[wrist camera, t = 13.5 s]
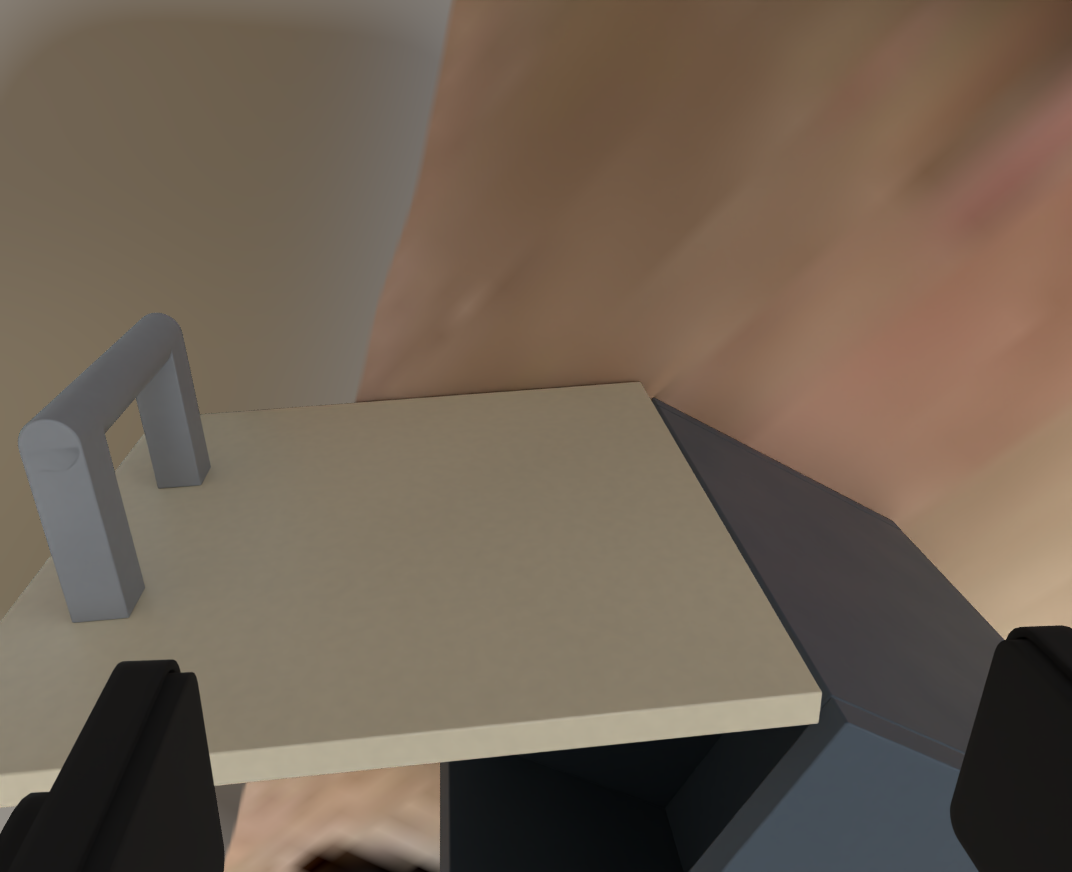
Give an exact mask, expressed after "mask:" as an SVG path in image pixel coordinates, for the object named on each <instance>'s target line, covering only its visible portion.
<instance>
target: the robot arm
mask: <svg viewBox="0 0 1072 872" xmlns="http://www.w3.org/2000/svg"><path fill="white" fill-rule="evenodd" d="M950 819H951V824H952V827H953V830H954V833H955V835H956V837H957V839H958V840H959V842H960V844H961V845H962V847H963V848H964V850H965V851H966V853H967V854H968V856H969V857H970V859H971V861H972V862H973V864H974V865H975V867H976V868H977V870H978V871H979V872H1072V629H1071V628H1070V627H1066V626H1036V627H1019V628H1015V629H1013V630H1012V631H1011V632H1010V633H1009V635H1008V637H1007V639H1006V640H1004V641H1001V642H1000V643H999V644H998V645H997V647H996V649H995V652H994V655H993V659H992V662H991V665H990V669H989V672H988V676H987V679H986V683H985V686H984V690H983V693H982V697H981V700H980V704H979V707H978V711H977V714H976V717H975V721H974V724H973V728H972V731H971V735H970V738H969V742H968V745H967V749H966V752H965V756H964V759H963V763H962V766H961V770H960V773H959V776H958V780H957V783H956V787H955V790H954V794H953V797H952V801H951V805H950ZM0 872H224V844H223V838H222V832H221V826H220V819H219V813H218V807H217V800H216V793H215V787H214V781H213V775H212V768H211V762H210V756H209V749H208V743H207V737H206V730H205V724H204V718H203V711H202V705H201V699H200V692H199V686H198V681H197V677H196V675H195V673H193V672H181V671H180V667H179V665H178V663H177V661H175V660H173V659H168V660H141V661H122V662H120V663H118V664H117V665H116V667H115V668H114V670H113V671H112V673H111V675H110V677H109V679H108V681H107V683H106V685H105V687H104V689H103V690H102V692H101V694H100V696H99V698H98V700H97V702H96V704H95V706H94V708H93V710H92V711H91V713H90V715H89V717H88V719H87V721H86V723H85V725H84V727H83V729H82V730H81V732H80V734H79V736H78V738H77V740H76V742H75V744H74V746H73V748H72V750H71V751H70V753H69V755H68V757H67V759H66V761H65V763H64V765H63V767H62V769H61V771H60V772H59V774H58V776H57V778H56V780H55V782H54V784H53V786H52V788H51V790H50V791H49V792H35V793H30V794H28V795H27V796H26V797H24V798H23V799H21V801H20V802H19V804H18V805H17V806H16V808H15V809H14V811H13V812H12V814H11V816H10V817H9V819H8V821H7V823H6V824H5V826H4V828H3V830H2V832H1V834H0Z"/></svg>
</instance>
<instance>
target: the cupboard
mask: <svg viewBox="0 0 1072 872" xmlns="http://www.w3.org/2000/svg"><path fill="white" fill-rule="evenodd" d="M651 401H652V403H653V404H654V406H655V408H656V409H657V411H658V413H659V415H660V416H661V418H662V420H663V421H664V423H665V425H666V427H667V428H668V430H669V432H670V433H671V435H672V437H673V438H674V440H675V442H676V444H677V445H678V447H679V449H680V450H681V452H682V454H683V456H684V457H685V459H686V461H687V462H688V464H689V466H690V468H691V469H692V471H693V473H694V474H695V476H696V478H697V480H698V481H699V483H700V485H701V486H702V488H703V490H704V491H705V493H706V495H707V497H708V498H709V500H710V502H711V503H712V505H713V507H714V509H715V510H716V512H717V514H718V515H719V517H720V519H721V521H722V522H723V524H724V526H725V527H726V529H727V531H728V533H729V534H730V536H731V538H732V539H733V541H734V543H735V544H736V546H737V548H738V550H739V551H740V553H741V555H742V556H743V558H744V560H745V562H746V563H747V565H748V567H749V568H750V570H751V572H752V574H753V575H754V577H755V579H756V580H757V582H758V584H759V586H760V587H761V589H762V591H763V592H764V594H765V596H766V597H767V599H768V601H769V603H770V604H771V606H772V608H773V609H774V611H775V613H776V615H777V616H778V618H779V620H780V621H781V623H782V625H783V627H784V628H785V630H786V632H787V633H788V635H789V637H790V638H791V640H792V642H793V644H794V645H795V647H796V649H797V650H798V652H799V654H800V656H801V657H802V659H803V661H804V662H805V664H806V666H807V668H808V669H809V671H810V673H811V674H812V676H813V678H814V680H815V681H816V683H817V685H818V686H819V688H820V690H821V692H822V698H821V707H820V715H819V722H818V723H817V724H808V725H798V726H789V727H779V728H769V729H760V730H750V731H740V732H731V733H721V734H711V735H702V736H692V737H682V738H672V739H663V740H653V741H643V742H634V743H624V744H614V745H605V746H595V747H585V748H576V749H566V750H556V751H547V752H537V753H527V754H518V755H508V756H498V757H489V758H479V759H469V760H460V761H450V762H440V872H979V871H978V870H977V868H976V867H975V865H974V864H973V862H972V861H971V859H970V857H969V856H968V854H967V853H966V851H965V850H964V848H963V847H962V845H961V844H960V842H959V840H958V839H957V837H956V835H955V833H954V830H953V827H952V824H951V819H950V805H951V801H952V797H953V794H954V790H955V787H956V783H957V780H958V776H959V773H960V770H961V766H962V763H963V759H964V756H965V752H966V749H967V745H968V742H969V738H970V735H971V731H972V728H973V724H974V721H975V717H976V714H977V711H978V707H979V704H980V700H981V697H982V693H983V690H984V686H985V683H986V679H987V676H988V672H989V669H990V665H991V662H992V659H993V655H994V652H995V649H996V647H997V645H998V644H999V643H1000V642H1001V641H1004V639H1003V638H1002V637H1001V636H1000V635H999V634H998V633H997V631H996V630H995V629H994V628H993V627H992V626H991V625H990V624H989V623H988V622H987V621H986V620H985V619H984V618H983V617H982V616H981V615H980V613H979V612H978V611H977V610H976V609H975V608H974V607H973V606H972V605H971V604H970V603H969V602H968V601H967V600H966V599H965V598H964V596H963V595H962V594H961V593H960V592H959V591H958V590H957V589H956V588H955V587H954V586H953V585H952V584H951V583H950V582H949V581H948V579H947V578H946V577H945V576H944V575H943V574H942V573H941V572H940V571H939V570H938V569H937V568H936V567H935V566H934V565H933V564H932V562H931V561H930V560H929V559H928V558H927V557H926V556H925V555H924V554H923V553H922V552H921V551H920V550H919V549H918V548H917V547H916V546H915V544H914V543H913V542H912V541H911V540H910V539H909V538H908V537H907V536H906V535H905V534H904V533H903V532H902V531H901V529H900V528H899V527H898V526H897V525H896V524H895V523H894V522H893V521H891V520H890V519H888V518H886V517H884V516H882V515H880V514H878V513H876V512H874V511H872V510H870V509H868V508H866V507H864V506H862V505H861V504H859V503H857V502H855V501H853V500H851V499H849V498H847V497H845V496H843V495H841V494H839V493H837V492H835V491H833V490H832V489H830V488H828V487H826V486H824V485H822V484H820V483H818V482H816V481H814V480H812V479H810V478H808V477H806V476H804V475H803V474H801V473H799V472H797V471H795V470H793V469H791V468H789V467H787V466H785V465H783V464H781V463H779V462H777V461H775V460H774V459H772V458H770V457H768V456H766V455H764V454H762V453H760V452H758V451H756V450H754V449H752V448H750V447H748V446H746V445H745V444H743V443H741V442H739V441H737V440H735V439H733V438H731V437H729V436H727V435H725V434H723V433H721V432H719V431H717V430H716V429H714V428H712V427H710V426H708V425H706V424H704V423H702V422H700V421H698V420H696V419H694V418H692V417H690V416H688V415H686V414H685V413H683V412H681V411H679V410H677V409H675V408H673V407H671V406H669V405H667V404H665V403H663V402H661V401H659V400H657V399H656V398H653V399H652V400H651Z"/></svg>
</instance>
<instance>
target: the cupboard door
mask: <svg viewBox="0 0 1072 872" xmlns="http://www.w3.org/2000/svg"><path fill="white" fill-rule="evenodd" d="M135 398H136V400H137V404H138V408H139V412H140V416H141V421H142V425H143V429H144V434H143V436H142V437H141V438H140V440H139V441H138V442H137V444H136V445H135V446H134V448H133V449H132V450H131V452H130V453H129V454H128V455H127V457H126V458H125V459H124V461H123V462H122V463H121V464H120V466H119V467H118V469H117V470H116V471H114V467H113V463H112V459H111V456H110V452H109V448H108V444H107V440H106V437H105V433H106V432H107V430H108V429H109V428H110V427H111V426H112V424H113V423H114V422H115V421H116V420H117V419H118V418H119V417H120V415H121V414H122V413H123V412H124V411H125V410H126V408H127V407H128V406H129V405H130V404H131V403H132V401H133V400H134V399H135ZM18 447H19V452H20V455H21V458H22V461H23V465H24V468H25V471H26V474H27V478H28V481H29V484H30V487H31V490H32V494H33V497H34V500H35V504H36V507H37V510H38V513H39V516H40V519H41V523H42V526H43V529H44V533H45V536H46V539H47V542H48V546H49V549H50V552H51V556H50V557H49V559H48V560H47V561H46V563H45V564H44V565H43V567H42V568H41V569H40V571H39V572H38V573H37V575H36V576H35V577H34V578H33V580H32V581H31V582H30V584H29V585H28V587H27V588H26V589H25V590H24V591H23V593H22V594H21V595H20V597H19V598H18V600H17V601H16V602H15V603H14V605H13V606H12V607H11V609H10V610H9V611H8V613H7V614H6V615H5V616H4V618H3V619H2V620H1V622H0V808H4V807H14V806H17V805H18V804H19V802H20V801H21V799H23V798H24V797H26V796H27V795H28V794H30V793H35V792H49V791H50V790H51V788H52V786H53V784H54V782H55V780H56V778H57V776H58V774H59V772H60V771H61V769H62V767H63V765H64V763H65V761H66V759H67V757H68V755H69V753H70V751H71V750H72V748H73V746H74V744H75V742H76V740H77V738H78V736H79V734H80V732H81V730H82V729H83V727H84V725H85V723H86V721H87V719H88V717H89V715H90V713H91V711H92V710H93V708H94V706H95V704H96V702H97V700H98V698H99V696H100V694H101V692H102V690H103V689H104V687H105V685H106V683H107V681H108V679H109V677H110V675H111V673H112V671H113V670H114V668H115V667H116V665H117V664H118V663H120V662H122V661H141V660H168V659H173V660H175V661H177V663H178V665H179V667H180V671H181V672H193V673H195V675H196V677H197V681H198V686H199V692H200V699H201V705H202V711H203V718H204V724H205V730H206V737H207V743H208V749H209V756H210V762H211V768H212V775H213V781H214V786H217V785H227V784H236V783H247V782H256V781H266V780H276V779H285V778H295V777H305V776H314V775H324V774H334V773H343V772H353V771H363V770H372V769H382V768H392V767H401V766H411V765H421V764H431V763H440V762H450V761H460V760H469V759H479V758H489V757H498V756H508V755H518V754H527V753H537V752H547V751H556V750H566V749H576V748H585V747H595V746H605V745H614V744H624V743H634V742H643V741H653V740H663V739H672V738H682V737H692V736H702V735H711V734H721V733H731V732H740V731H750V730H760V729H769V728H779V727H789V726H798V725H808V724H817V723H818V722H819V715H820V707H821V698H822V692H821V690H820V688H819V686H818V685H817V683H816V681H815V680H814V678H813V676H812V674H811V673H810V671H809V669H808V668H807V666H806V664H805V662H804V661H803V659H802V657H801V656H800V654H799V652H798V650H797V649H796V647H795V645H794V644H793V642H792V640H791V638H790V637H789V635H788V633H787V632H786V630H785V628H784V627H783V625H782V623H781V621H780V620H779V618H778V616H777V615H776V613H775V611H774V609H773V608H772V606H771V604H770V603H769V601H768V599H767V597H766V596H765V594H764V592H763V591H762V589H761V587H760V586H759V584H758V582H757V580H756V579H755V577H754V575H753V574H752V572H751V570H750V568H749V567H748V565H747V563H746V562H745V560H744V558H743V556H742V555H741V553H740V551H739V550H738V548H737V546H736V544H735V543H734V541H733V539H732V538H731V536H730V534H729V533H728V531H727V529H726V527H725V526H724V524H723V522H722V521H721V519H720V517H719V515H718V514H717V512H716V510H715V509H714V507H713V505H712V503H711V502H710V500H709V498H708V497H707V495H706V493H705V491H704V490H703V488H702V486H701V485H700V483H699V481H698V480H697V478H696V476H695V474H694V473H693V471H692V469H691V468H690V466H689V464H688V462H687V461H686V459H685V457H684V456H683V454H682V452H681V450H680V449H679V447H678V445H677V444H676V442H675V440H674V438H673V437H672V435H671V433H670V432H669V430H668V428H667V427H666V425H665V423H664V421H663V420H662V418H661V416H660V415H659V413H658V411H657V409H656V408H655V406H654V404H653V403H652V401H651V399H650V397H649V396H648V394H647V392H646V391H645V389H644V387H643V386H642V384H641V382H630V383H616V384H603V385H589V386H576V387H562V388H549V389H535V390H522V391H508V392H495V393H481V394H468V395H454V396H441V397H427V398H414V399H400V400H387V401H373V402H360V403H347V404H333V405H319V406H306V407H294V408H293V407H292V408H279V409H265V410H253V411H238V412H226V413H211V414H200V413H199V409H198V404H197V399H196V395H195V390H194V385H193V380H192V376H191V371H190V367H189V362H188V357H187V352H186V348H185V343H184V338H183V334H182V330H181V328H180V326H179V324H178V323H177V322H176V321H175V320H174V319H173V318H171V317H170V316H168V315H166V314H162V313H151V314H148V315H146V316H144V317H143V318H142V319H141V320H140V321H138V322H137V323H136V324H135V325H134V326H133V327H132V328H131V329H130V330H129V331H128V332H126V333H125V334H124V335H123V336H122V337H121V338H120V339H119V340H118V341H117V342H116V343H115V344H113V345H112V346H111V347H110V348H109V349H108V350H107V351H106V352H105V353H104V354H102V355H101V357H99V358H98V359H97V360H96V361H95V362H94V363H93V364H92V365H90V366H89V367H88V368H87V369H86V370H85V371H84V372H83V373H82V374H81V375H80V376H79V377H77V378H76V379H75V380H74V381H73V382H72V383H71V384H70V385H69V386H68V387H67V388H65V389H64V390H63V391H62V392H61V393H60V394H59V395H58V396H57V397H56V398H54V400H52V401H51V402H50V403H49V404H48V405H47V406H46V407H45V408H44V409H42V411H40V412H39V413H38V414H37V415H36V416H35V417H34V418H33V419H32V420H30V421H29V422H28V423H27V424H26V425H25V426H24V427H23V428H22V430H21V431H20V433H19V437H18Z"/></svg>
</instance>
